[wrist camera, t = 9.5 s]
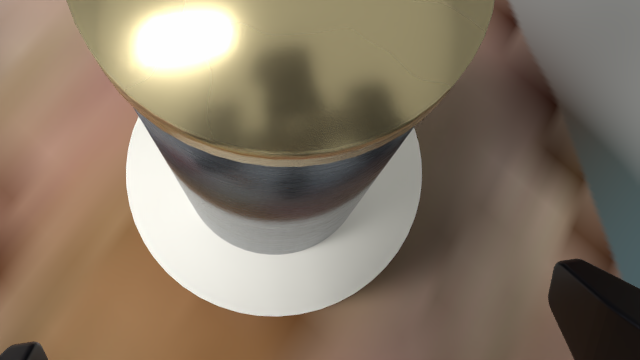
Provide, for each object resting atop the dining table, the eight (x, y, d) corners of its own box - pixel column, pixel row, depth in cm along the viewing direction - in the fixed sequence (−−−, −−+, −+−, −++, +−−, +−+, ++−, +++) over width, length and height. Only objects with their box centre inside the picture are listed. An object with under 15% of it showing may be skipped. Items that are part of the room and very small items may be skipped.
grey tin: (392, 222, 18) (567, 76, 8) (212, 284, 17) (126, 215, 7) (329, 61, 20) (403, -253, 9) (159, 109, 18) (15, -182, 8)
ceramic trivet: (446, 187, 23) (479, 162, 19) (280, 371, 21) (279, 385, 17) (275, 33, 24) (274, -20, 20) (101, 193, 22) (61, 167, 18)
